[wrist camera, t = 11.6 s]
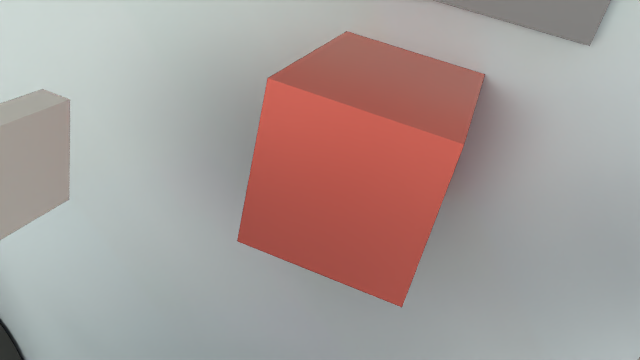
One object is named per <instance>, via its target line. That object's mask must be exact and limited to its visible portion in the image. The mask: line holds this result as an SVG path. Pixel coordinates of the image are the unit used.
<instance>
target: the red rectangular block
mask: <svg viewBox="0 0 640 360" xmlns="http://www.w3.org/2000/svg"><path fill="white" fill-rule="evenodd" d="M484 76H485V74H482V73H479V72H476V71H472V70H469V69H466V68H463V67H460V66H456V65H453V64H450V63H447V62H443V61H440V60H437V59H434V58H431V57H427V56H424V55H421V54H418V53H415V52H411V51H408V50H405V49H402V48H399V47H395V46H392V45H389V44H386V43H382V42H379V41H376V40H373V39H370V38H366V37H363V36H360V35H357V34H354V33H350V32H347V31H346V32H345V33H343V34H341V35H340V36H338V37H336V38H335V39H333V40H331V41H330V42H328V43H326V44H324V45H323V46H321V47H319V48H318V49H316V50H314V51H313V52H311V53H309V54H308V55H306V56H304V57H303V58H301V59H299V60H298V61H296V62H294V63H292V64H291V65H289V66H287V67H286V68H284V69H282V70H281V71H279V72H277V73H276V74H274V75H272V76H271V77H269V78H268V79H267V85H266V90H265V95H264V101H263V106H262V111H261V117H260V122H259V127H258V133H257V138H256V143H255V149H254V154H253V160H252V165H251V170H250V176H249V181H248V186H247V192H246V197H245V202H244V208H243V213H242V218H241V224H240V229H239V235H238V240H237V241H238V242H241V243H243V244H246V245H248V246H251V247H253V248H256V249H258V250H261V251H263V252H266V253H268V254H270V255H273V256H275V257H278V258H280V259H283V260H285V261H288V262H290V263H293V264H295V265H298V266H300V267H303V268H305V269H308V270H310V271H313V272H315V273H318V274H320V275H323V276H325V277H328V278H330V279H333V280H335V281H338V282H340V283H343V284H345V285H348V286H350V287H353V288H355V289H358V290H360V291H363V292H365V293H368V294H370V295H373V296H375V297H378V298H380V299H383V300H385V301H387V302H390V303H392V304H395V305H397V306H400V307H402V306H403V303H404V300H405V298H406V295H407V293H408V290H409V287H410V285H411V282H412V279H413V277H414V274H415V272H416V269H417V266H418V264H419V261H420V259H421V256H422V253H423V251H424V248H425V245H426V243H427V240H428V238H429V235H430V232H431V230H432V227H433V225H434V222H435V219H436V217H437V214H438V212H439V209H440V206H441V204H442V201H443V198H444V196H445V193H446V191H447V188H448V185H449V183H450V180H451V178H452V175H453V172H454V170H455V167H456V164H457V162H458V159H459V157H460V154H461V151H462V149H463V146H464V143H465V140H466V137H467V133H468V130H469V126H470V123H471V120H472V116H473V113H474V110H475V106H476V103H477V99H478V96H479V93H480V89H481V86H482V83H483V79H484Z"/></svg>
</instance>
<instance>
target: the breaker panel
mask: <svg viewBox="0 0 640 360" xmlns="http://www.w3.org/2000/svg"><path fill="white" fill-rule="evenodd" d="M434 1H438V2H441V3H444V4H448V5H451V6H455V7H458V8H462V9H465V10H468V11H472V12H475V13H479V14H482V15H486V16H489V17H492V18H496V19H499V20H503V21H506V22H509V23H513V24H516V25H520V26H523V27H527V28H530V29H533V30H537V31H540V32H544V33H547V34H551V35H554V36H557V37H561V38H564V39H568V40H571V41H575V42H578V43H581V44H585V45H588V46H590V44H591V42H592V40H593V38H594V36H595V33H596V31H597V29H598V27H599V25H600V23H601V20H602V18H603V16H604V14H605V12H606V10H607V7H608V5H609V3H610V1H611V0H434Z"/></svg>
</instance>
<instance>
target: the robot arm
mask: <svg viewBox="0 0 640 360" xmlns="http://www.w3.org/2000/svg"><path fill="white" fill-rule="evenodd" d="M69 164H70V99H68V98H65V97H62V96H60V95H57V94H54V93H52V92H49V91H47V90H44V89H41V90H38V91H35V92H32V93H29V94H27V95H24V96H21V97H18V98H15V99H12V100H9V101H6V102H3V103H0V240H1V239H3V238H5V237H6V236H8V235H10V234H11V233H13V232H15V231H17V230H18V229H20V228H22V227H23V226H25V225H27V224H28V223H30V222H32V221H34V220H35V219H37V218H39V217H40V216H42V215H44V214H45V213H47V212H49V211H50V210H52V209H54V208H56V207H57V206H59V205H61V204H62V203H64V202H66V201H67V200H69ZM0 360H21V358H20V356H19V354H18V352H17V350H16V348H15V346H14V344H13V343H12V341H11V339H10V338H9V336H8V335H7V333H6V332H5V330H4V329H3V327H2V326H1V325H0ZM638 360H640V357H639V359H638Z"/></svg>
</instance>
